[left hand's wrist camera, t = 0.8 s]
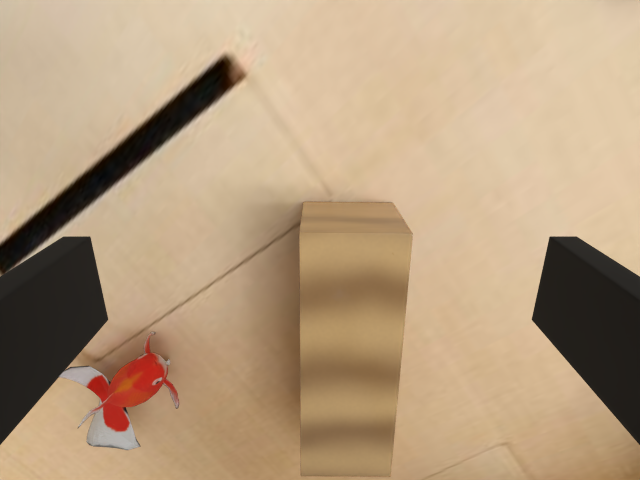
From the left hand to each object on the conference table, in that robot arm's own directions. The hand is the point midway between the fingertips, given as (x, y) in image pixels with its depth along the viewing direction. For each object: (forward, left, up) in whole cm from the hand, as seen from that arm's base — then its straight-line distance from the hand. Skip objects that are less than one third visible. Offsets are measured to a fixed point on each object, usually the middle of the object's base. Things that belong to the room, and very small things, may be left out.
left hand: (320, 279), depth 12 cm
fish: (+25, -20, -28) cm, 42 cm away
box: (+17, +3, -28) cm, 33 cm away
